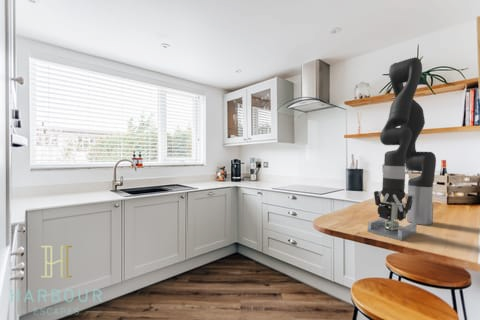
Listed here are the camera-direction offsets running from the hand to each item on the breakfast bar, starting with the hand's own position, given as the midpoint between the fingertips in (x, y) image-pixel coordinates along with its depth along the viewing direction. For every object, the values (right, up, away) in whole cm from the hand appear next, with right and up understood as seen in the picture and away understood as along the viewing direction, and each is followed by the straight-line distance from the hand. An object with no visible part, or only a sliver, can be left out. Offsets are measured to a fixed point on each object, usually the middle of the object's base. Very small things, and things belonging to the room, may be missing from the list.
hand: (391, 218), depth 96 cm
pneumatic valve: (0, -4, 0) cm, 5 cm away
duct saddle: (0, -6, 0) cm, 6 cm away
